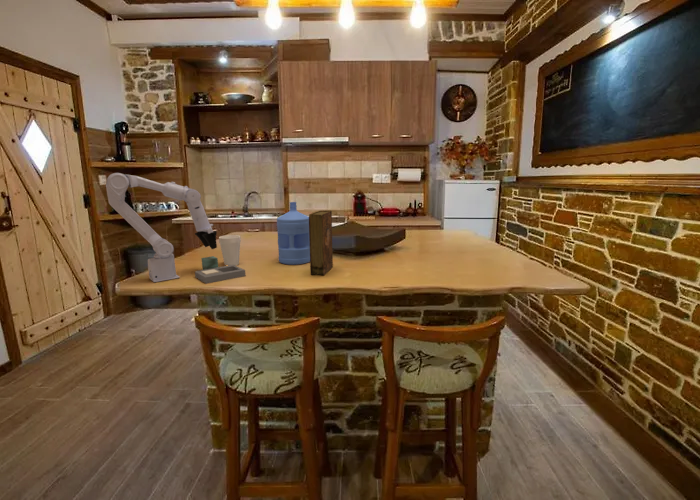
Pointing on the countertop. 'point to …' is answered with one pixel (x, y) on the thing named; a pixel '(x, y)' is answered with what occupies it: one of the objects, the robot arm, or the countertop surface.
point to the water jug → (293, 237)
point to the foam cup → (230, 249)
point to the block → (209, 262)
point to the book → (320, 242)
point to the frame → (219, 273)
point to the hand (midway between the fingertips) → (211, 247)
